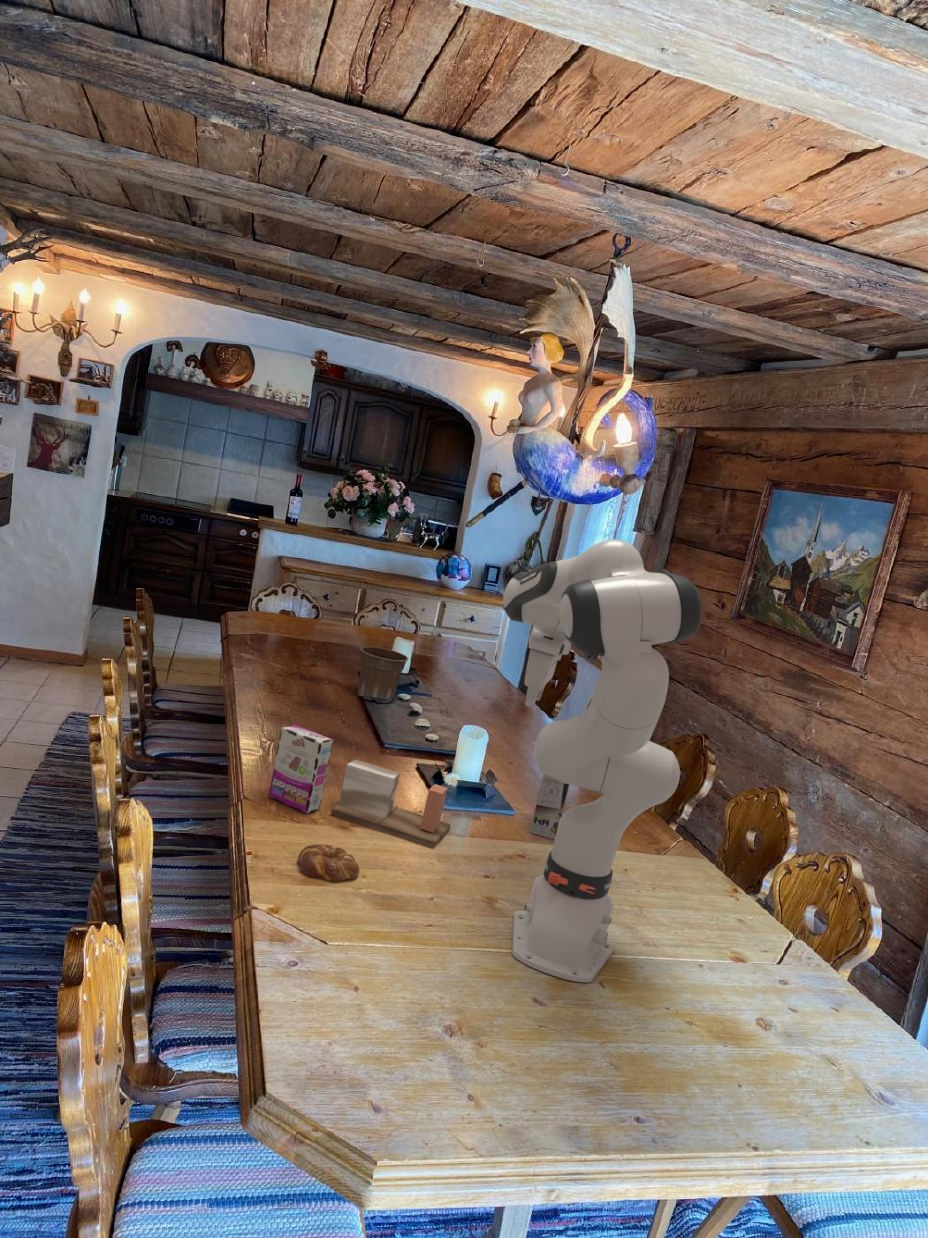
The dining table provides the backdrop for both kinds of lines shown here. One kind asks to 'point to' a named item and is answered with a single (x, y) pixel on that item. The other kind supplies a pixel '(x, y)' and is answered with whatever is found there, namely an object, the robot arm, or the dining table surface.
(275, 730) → the dining table surface
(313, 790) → the candy bar box
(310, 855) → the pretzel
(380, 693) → the plant pot
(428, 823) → the stub
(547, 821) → the coffee box
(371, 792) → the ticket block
